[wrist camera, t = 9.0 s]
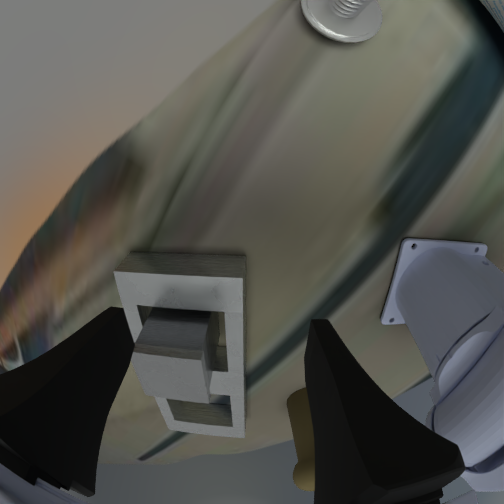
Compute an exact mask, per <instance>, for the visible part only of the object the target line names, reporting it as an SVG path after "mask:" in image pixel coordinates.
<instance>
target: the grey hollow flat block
mask: <svg viewBox="0 0 504 504" xmlns="http://www.w3.org/2000/svg"><path fill="white" fill-rule="evenodd" d="M114 275H115V279H116V283H117V287H118V291H119V295H120V298H121V302H122V305H123V308H124V312H125V315H126V318H127V322H128V325H129V328H130V331H131V334H132V337H133V340H134V343H135V342H136V340H137V338H138V336H139V334H140V332H141V330H142V328H143V326H144V324H145V322H146V320H147V318H148V316H149V314H150V312H151V310H152V308H153V307H164V308H176V309H189V310H203V311H219V312H224V313H225V330H226V345H227V347H222V346H218V347H217V352H216V357H215V363H214V368H213V373H212V378H211V383H210V393H211V394H218V395H230V399H231V405H221V404H210V403H209V404H207V403H198V402H189V401H181V400H174V399H167V398H161V397H155V396H154V397H155V399H156V401H157V404H158V406H159V408H160V411H161V413H162V415H163V417H164V419H165V422H166V424H167V426H168V428H169V429H170V430H176V431H183V432H189V433H197V434H205V435H214V436H224V437H237V438H245V429H246V256H236V255H206V254H177V253H149V252H130V253H129V254H128V255H127V256H126V257H125V258H124V260H123V261H122V262H121V263H120V264H119V265H118V267H117V268H116V269H115V270H114Z"/></svg>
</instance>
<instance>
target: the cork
mask: <svg viewBox="0 0 504 504" xmlns="http://www.w3.org/2000/svg"><path fill="white" fill-rule="evenodd" d="M287 407H288V412H289V417H290V422H291V427H292V432H293V437H294V442H295V447H296V452H297V457H298V463H297V464H296V465H295V468H294V472H293V480H294V483H295V484H296V486H297V487H298V488H299V489H302V490H305V491H315V450H314V433H313V425H312V419H311V413H310V407H309V401H308V394H307V388H303V389H300V390H298V391H296V392H294V393H293V394H292V395H290V397H289V398H288V399H287Z"/></svg>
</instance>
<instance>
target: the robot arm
mask: <svg viewBox="0 0 504 504" xmlns="http://www.w3.org/2000/svg"><path fill="white" fill-rule="evenodd" d="M414 243H415V245H414V247H411V246H412V245H413V244H414ZM475 248H476V249H475ZM486 252H487V245H485V244H484V243H473V242H459V241H445V240H430V239H414V238H406V239H405V240H403V242H402V244H401V248H400V252H399V256H398V260H397V264H396V268H395V272H394V276H393V279H392V283H391V286H390V290H389V293H388V296H387V300H386V303H385V306H384V309H383V312H382V315H381V319H380V320H381V323H382V324H383V325H389V324H406V325H407V327H408V328H409V330H410V332H411V334H412V336H413V338H414V340H415V342H416V344H417V346H418V348H419V350H420V352H421V354H422V356H423V358H424V360H425V362H426V364H427V367H428V369H429V371H430V373H431V375H432V377H433V379H434V382H435V385H434V387H433V389H432V390H431V391H430V396H431V398H432V401H433V403H434V406H433V407H432V408H431V409H430V411H429V413H428V415H427V418H426V423H425V426H424V425H423V424H421V423H420V422H419V421H417V420H416V419H414V418H413V417H412V416H411V415H409V414H408V413H407V412H406V411H404V410H403V409H402V408H401V407H399V406H398V405H397V404H396V403H395V402H394V401H393V400H392V399H391V398H389V397H388V396H387V395H386V394H385V393H384V392H383V391H382V390H381V389H380V388H379V386H378V385H377V384H376V383H375V382H374V381H373V380H372V379H371V378H370V376H369V375H368V374H367V373H366V372H365V371H364V369H363V368H362V367H361V366H360V364H359V363H358V362H357V360H356V359H355V358H354V356H353V355H352V354H351V353H350V351H349V350H348V348H347V347H346V346H345V344H344V343H343V341H342V340H341V338H340V337H339V335H338V334H337V332H336V331H335V329H334V328H333V326H332V325H331V323H330V322H329V321H328V319H311V324H310V329H309V335H308V340H307V345H306V351H305V356H304V364H305V382H306V388H307V394H308V401H309V407H310V413H311V419H312V425H313V433H314V450H315V491H314V504H440V500H439V499H440V498H442V497H443V491H442V487H444V486H446V485H447V484H448V483H450V482H452V481H453V480H455V479H456V478H458V477H459V476H461V477H463V478H464V479H465V480H466V481H467V482H468V484H469V485H470V486H471V487H472V489H473V490H471V491H469V492H467V493H465V494H463V495H461V496H458V497H456V498H454V499H452V500H449V501H447V502H445V503H443V504H478V500H477V496H476V492H475V491H487V492H488V491H489V492H490V491H504V273H503V272H502V271H501V270H499V269H498V268H497V267H496V266H495V265H494V264H493V263H492V262H491V261H490V260H489V259H487V258H486V257H485V255H486ZM391 318H392V319H391ZM390 319H391V320H390ZM134 347H135V343H134V340H133V337H132V334H131V331H130V328H129V325H128V322H127V318H126V315H125V312H124V308H118V307H109V308H108V309H106V310H105V311H103V312H102V313H101V314H99V315H98V316H96V317H95V318H94V319H92V320H91V321H90V322H88V323H87V324H86V325H84V326H83V327H82V328H80V329H79V330H78V331H76V332H75V333H74V334H72V335H71V336H70V337H68V338H67V339H65V340H64V341H62V342H61V343H59V344H58V345H57V346H55V347H54V348H52V349H51V350H49V351H48V352H46V353H44V354H43V355H41V356H39V357H37V358H36V359H34V360H32V361H30V362H28V363H26V364H24V365H22V366H20V367H17V368H15V369H13V370H11V371H8V372H6V373H3V374H0V504H90V503H88V502H85V501H83V500H81V499H79V498H76V497H74V496H72V495H70V494H68V493H66V492H64V491H62V490H60V487H62V488H64V489H66V490H68V491H69V489H71V490H73V491H76V492H78V493H80V494H82V495H84V496H87V497H90V496H93V495H94V494H95V482H96V469H97V462H98V455H99V449H100V445H101V440H102V435H103V431H104V427H105V424H106V420H107V416H108V414H109V411H110V408H111V406H112V403H113V401H114V399H115V397H116V394H117V392H118V390H119V388H120V385H121V383H122V381H123V379H124V376H125V374H126V372H127V369H128V367H129V364H130V361H131V358H132V354H133V351H134Z"/></svg>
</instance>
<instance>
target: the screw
mask: <svg viewBox="0 0 504 504" xmlns="http://www.w3.org/2000/svg"><path fill="white" fill-rule="evenodd" d="M301 9H302V12H303V15H304V16H305V18H306V20H307V21H308V23H309V24H310V25H311V26H312V27H313V28H314V29H315V30H316V31H318V32H319V33H320V34H322V35H324V36H325V37H327V38H330V39H332V40H335V41H338V42H343V43H359V42H363V41H365V40H368V39H370V38H371V37H372V36H374V35H375V34H376V33H377V32H378V30H379V29H380V27H381V24H382V11H381V8H380V6H379V3H378V1H377V0H301Z"/></svg>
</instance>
